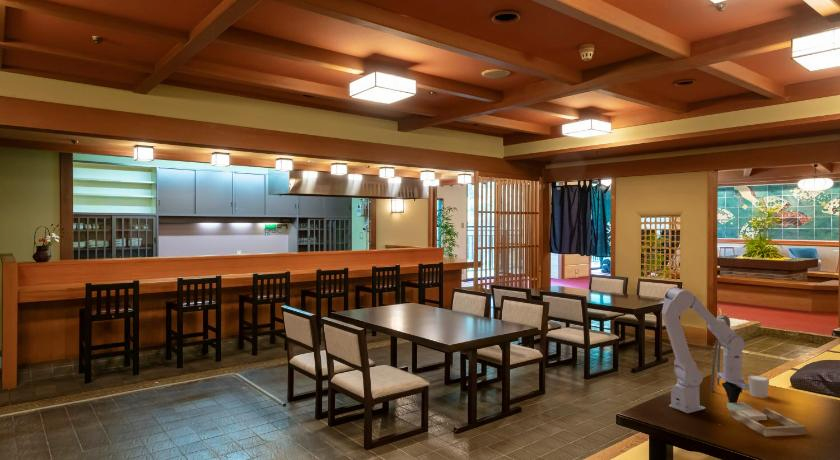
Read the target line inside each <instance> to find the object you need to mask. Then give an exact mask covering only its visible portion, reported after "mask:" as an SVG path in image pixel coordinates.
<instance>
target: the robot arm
mask: <svg viewBox="0 0 840 460" xmlns="http://www.w3.org/2000/svg"><path fill="white" fill-rule="evenodd" d="M688 309H691V310H693V311H694V312H695V313H696V314H697V315H698V316H699V317H700V318H701V319H702V320H703V321H705V323H706V325H707V326H706V327H707V329H708V331H709V332H711V333H712V334H713V336H715V338H716V337H717V338H718V339H719V341H720V344H721V346H722V345H723V346H724V347H723V346H722V348H723V349H722V350H723V351H722V353H723V372H719V373H717V372H716V379H717V378H719V379H722V380H723V381H724V382H722V383H721V386H722V387H723V388H724V390H725V394H726V396H727V401H728V403H736V402H739V397H740V394H741V391H742V392H743V391H750V390H749V383H747V382H746V381H745V378H744V377H743V367H742V366H743V361H742V359H743V356H742V355H743V351H744V349H745V347H746V343H745V342H744V339H743V337H742V336H740V335H737V334H736V330H735V329H732V328H731V326H730V327H729V326H728V325H727V324H726V323H727V322H726V321H725V320H723V319H720V318H718V317H716V316H714V315H713V314H712V313H711V311H709V309H708V308H707V307H706V306H705V305H704V304H703V303H702V301H700V299H699V298H698V297H697V296H696V295H695V294H694V293H692V291H690V290H686V289H682V288H679V287H677V286H672V287H670V288H668V289H667V290H666V291H665V293H664V294H663V305H662V309H661V316H662V320H663V322H664V326H665V328H666V332H667V335H668V339H669V342H670V345H671V347H672V352H673V354H674V358H675V359H674V360H673V364H674V368H673V373H674V375H675V376H676V377H677V381H676V384H675V385H674V386H672V388H671V389H670V404H668V406H669V407H670V408H672V409H676V410H678V411H681V412H683V413H686V414H690V413H695V412H698V411H701V410H705V409H706V407H705V406H702V405H700V398H701V397H700V385H701V384H702V382H703V380H704V377H703V376H704V375H703V373H702V371H700V369H698V365H697V363H696V362H695V360H694V359H693V358H692V355H691V351H690V349H689V345H688V343H687V338H686V336H685V332H684V329H683V326H682V323H681V320H680V316H681V315H682V313H684V312H685V311H687V310H688ZM719 341H718V342H719Z"/></svg>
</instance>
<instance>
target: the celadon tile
mask: <svg viewBox="0 0 840 460" xmlns="http://www.w3.org/2000/svg"><path fill="white" fill-rule="evenodd" d="M727 408H728V409H727ZM726 409H727V410H729V411H731V410H736V411H738V410H743V409H755V408H754V407H752V406H751V405H749V404H748V403H747V404H746V403H745V402H743V401H740V402H739V401H737V402H736V403H729V402H726Z"/></svg>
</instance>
